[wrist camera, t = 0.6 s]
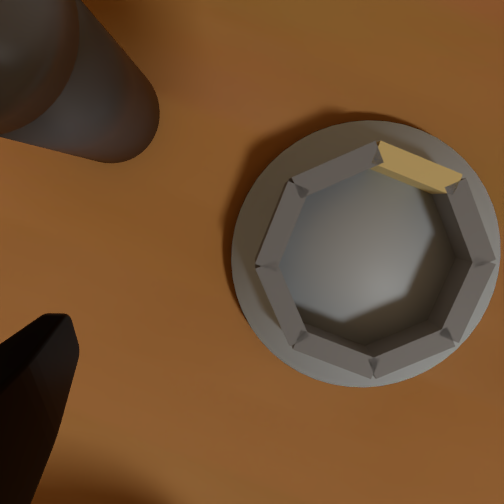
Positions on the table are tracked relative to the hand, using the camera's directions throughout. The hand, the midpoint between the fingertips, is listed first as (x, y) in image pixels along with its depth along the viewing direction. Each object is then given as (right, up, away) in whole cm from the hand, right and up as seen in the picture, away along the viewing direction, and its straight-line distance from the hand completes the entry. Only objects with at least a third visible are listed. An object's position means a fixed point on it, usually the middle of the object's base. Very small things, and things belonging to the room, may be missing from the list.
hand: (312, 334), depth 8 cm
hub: (+4, +1, +13) cm, 14 cm away
